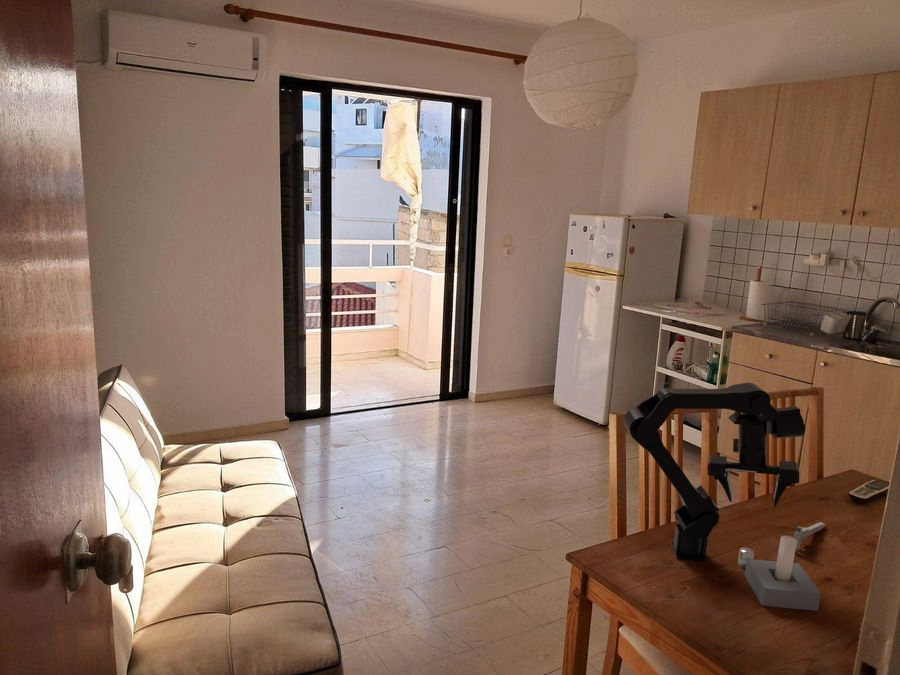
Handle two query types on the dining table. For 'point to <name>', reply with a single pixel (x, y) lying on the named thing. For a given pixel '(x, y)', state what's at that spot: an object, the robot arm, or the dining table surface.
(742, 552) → the short stub
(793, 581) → the hole block
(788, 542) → the ivory pin
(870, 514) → the dining table surface
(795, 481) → the robot arm
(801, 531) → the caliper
